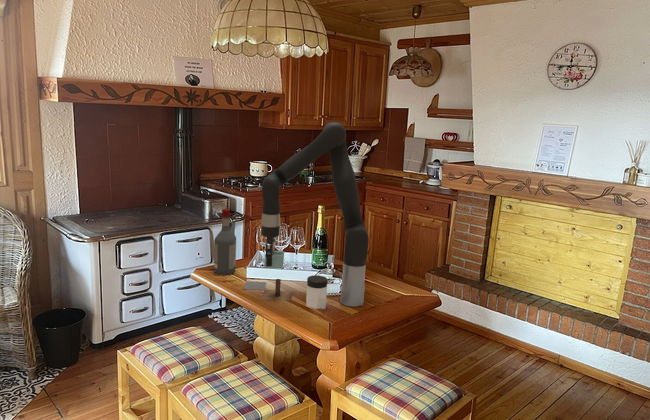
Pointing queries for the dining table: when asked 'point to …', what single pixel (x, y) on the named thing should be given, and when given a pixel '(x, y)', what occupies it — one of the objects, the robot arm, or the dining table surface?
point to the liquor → (225, 248)
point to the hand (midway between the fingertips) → (269, 263)
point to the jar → (316, 292)
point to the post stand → (277, 293)
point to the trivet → (255, 285)
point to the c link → (276, 259)
